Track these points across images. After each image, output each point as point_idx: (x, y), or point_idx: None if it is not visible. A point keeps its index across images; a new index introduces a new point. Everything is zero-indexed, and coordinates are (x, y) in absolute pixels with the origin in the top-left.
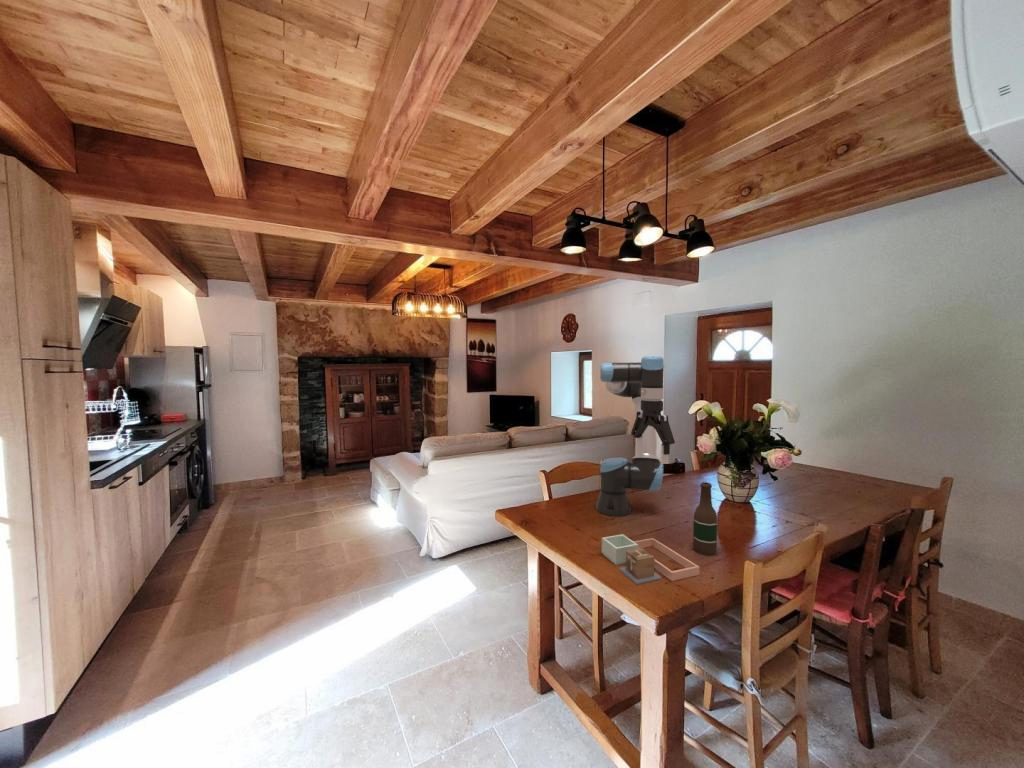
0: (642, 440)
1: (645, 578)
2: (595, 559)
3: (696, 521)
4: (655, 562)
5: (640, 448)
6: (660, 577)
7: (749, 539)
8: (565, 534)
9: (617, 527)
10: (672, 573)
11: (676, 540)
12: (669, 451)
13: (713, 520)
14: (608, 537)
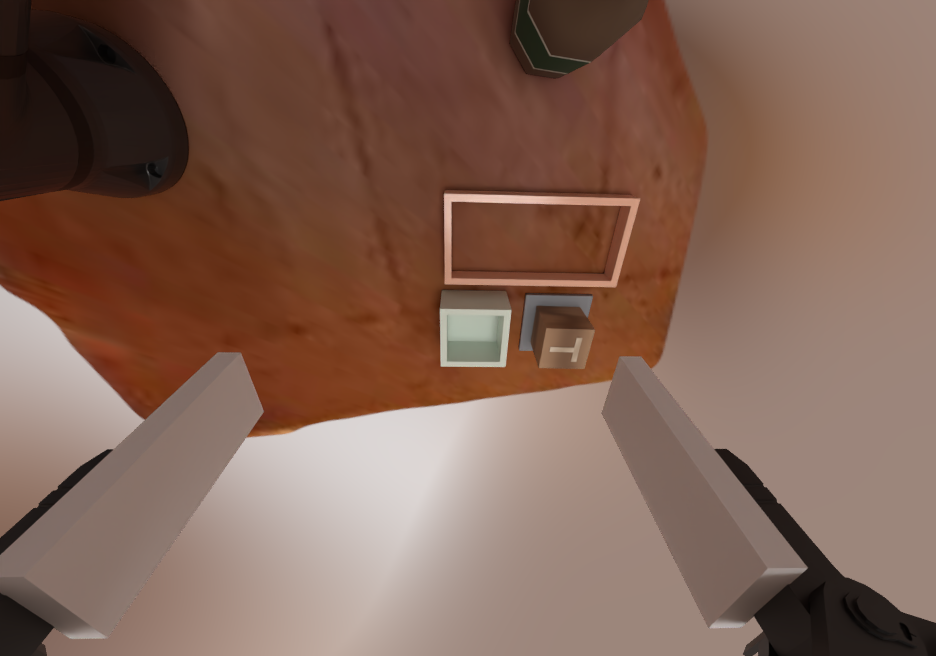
0: (86, 521)
1: None
2: None
3: (569, 58)
4: (557, 284)
5: (203, 434)
6: (591, 299)
7: None
8: (325, 368)
9: (297, 214)
10: (615, 285)
11: (444, 73)
12: (762, 486)
13: None
14: (444, 351)
